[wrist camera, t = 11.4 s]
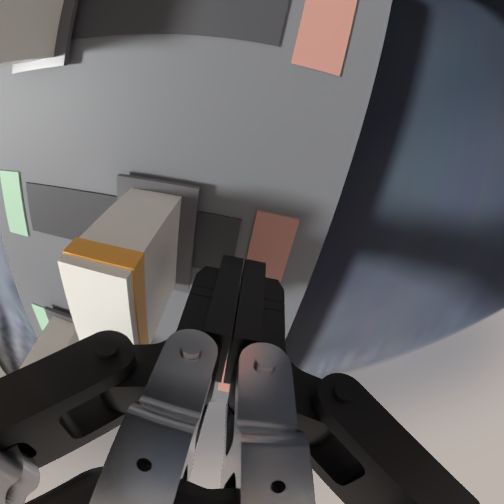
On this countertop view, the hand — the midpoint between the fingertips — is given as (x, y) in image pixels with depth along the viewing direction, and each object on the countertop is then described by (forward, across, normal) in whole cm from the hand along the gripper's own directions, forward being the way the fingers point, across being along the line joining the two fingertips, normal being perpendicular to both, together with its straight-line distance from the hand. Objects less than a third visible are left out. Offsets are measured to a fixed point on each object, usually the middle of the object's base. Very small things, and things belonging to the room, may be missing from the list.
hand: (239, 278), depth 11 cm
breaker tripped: (+1, +4, 0) cm, 4 cm away
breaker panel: (+5, +6, 0) cm, 7 cm away
